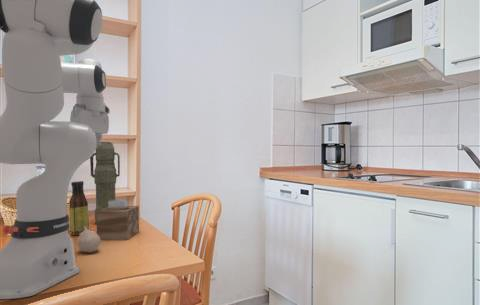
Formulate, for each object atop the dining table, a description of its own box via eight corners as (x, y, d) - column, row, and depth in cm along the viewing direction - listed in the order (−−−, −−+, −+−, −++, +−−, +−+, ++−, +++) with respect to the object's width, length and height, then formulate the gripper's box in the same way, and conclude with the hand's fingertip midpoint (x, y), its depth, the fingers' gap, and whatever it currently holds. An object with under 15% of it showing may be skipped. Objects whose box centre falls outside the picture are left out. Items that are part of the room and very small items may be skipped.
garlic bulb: (101, 247, 105) (100, 223, 105) (100, 253, 99) (100, 227, 99) (78, 250, 102) (78, 225, 102) (76, 256, 96) (75, 229, 96)
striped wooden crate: (127, 239, 114) (127, 211, 114) (96, 239, 114) (96, 211, 114) (139, 232, 125) (138, 205, 125) (111, 231, 125) (110, 205, 125)
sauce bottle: (92, 232, 125) (91, 180, 125) (83, 236, 119) (82, 182, 119) (76, 231, 126) (75, 180, 126) (66, 236, 120) (65, 182, 120)
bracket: (124, 223, 118) (124, 200, 118) (108, 222, 118) (108, 200, 118) (127, 221, 120) (127, 199, 120) (111, 221, 121) (111, 199, 121)
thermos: (91, 221, 143) (90, 142, 143) (120, 219, 148) (119, 142, 147) (90, 226, 135) (89, 141, 135) (120, 223, 139) (119, 141, 139)
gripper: (83, 102, 105) (83, 145, 105) (111, 109, 126) (112, 145, 126) (64, 102, 105) (64, 145, 106) (95, 110, 126) (96, 146, 126)
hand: (90, 145), depth 116 cm, fingers open, 8 cm apart
